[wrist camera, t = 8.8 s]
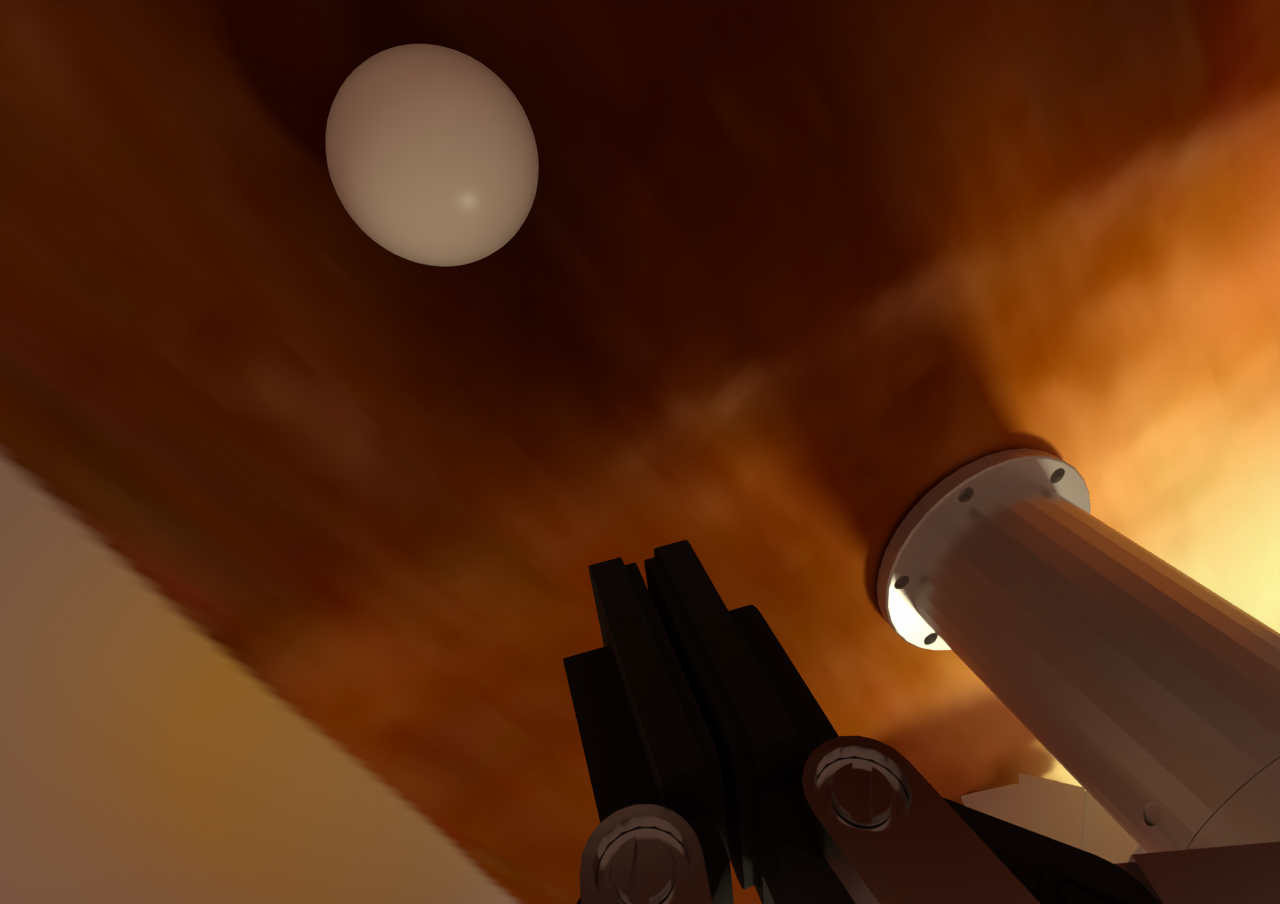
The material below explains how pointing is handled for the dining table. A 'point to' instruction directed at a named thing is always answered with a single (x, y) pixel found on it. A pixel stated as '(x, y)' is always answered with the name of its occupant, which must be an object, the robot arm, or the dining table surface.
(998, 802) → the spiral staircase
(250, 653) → the dining table surface
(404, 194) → the cue ball
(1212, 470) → the dining table surface
